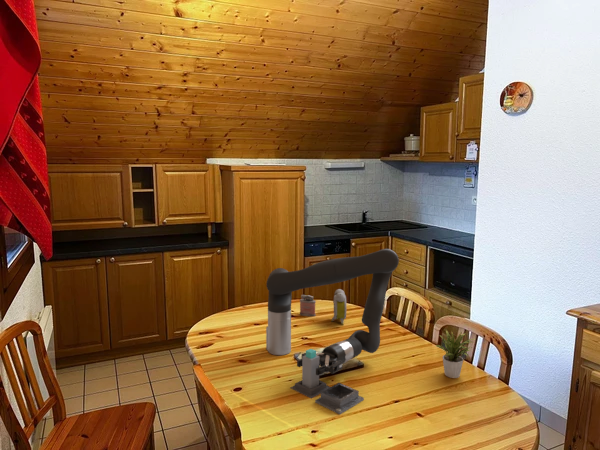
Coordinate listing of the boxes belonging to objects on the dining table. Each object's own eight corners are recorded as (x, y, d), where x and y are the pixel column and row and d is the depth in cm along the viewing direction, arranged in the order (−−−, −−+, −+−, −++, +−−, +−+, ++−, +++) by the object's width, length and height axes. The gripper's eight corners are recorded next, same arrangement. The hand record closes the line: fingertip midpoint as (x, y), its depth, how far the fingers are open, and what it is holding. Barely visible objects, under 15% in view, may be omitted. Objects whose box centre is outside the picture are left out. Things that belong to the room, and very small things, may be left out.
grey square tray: (289, 388, 155) (289, 383, 155) (309, 378, 162) (309, 373, 162) (311, 399, 148) (311, 394, 148) (331, 388, 155) (331, 383, 155)
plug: (302, 387, 155) (302, 350, 153) (310, 383, 158) (310, 347, 156) (311, 391, 152) (311, 354, 151) (319, 387, 155) (319, 350, 153)
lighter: (316, 314, 230) (316, 295, 228) (314, 316, 227) (314, 297, 225) (301, 312, 232) (301, 293, 231) (298, 315, 229) (298, 295, 228)
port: (315, 403, 146) (315, 392, 145) (339, 389, 154) (339, 380, 154) (339, 415, 139) (340, 404, 138) (363, 400, 147) (364, 390, 147)
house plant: (468, 389, 155) (471, 343, 153) (427, 379, 162) (429, 334, 160) (477, 373, 167) (480, 330, 165) (438, 364, 174) (440, 322, 172)
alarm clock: (346, 326, 214) (346, 294, 212) (331, 326, 214) (332, 294, 212) (344, 317, 226) (344, 287, 224) (330, 317, 226) (330, 287, 224)
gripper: (323, 338, 169) (291, 351, 157) (354, 349, 159) (323, 364, 147) (323, 357, 170) (291, 372, 158) (354, 370, 160) (323, 386, 148)
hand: (307, 368), depth 153 cm, fingers open, 8 cm apart
